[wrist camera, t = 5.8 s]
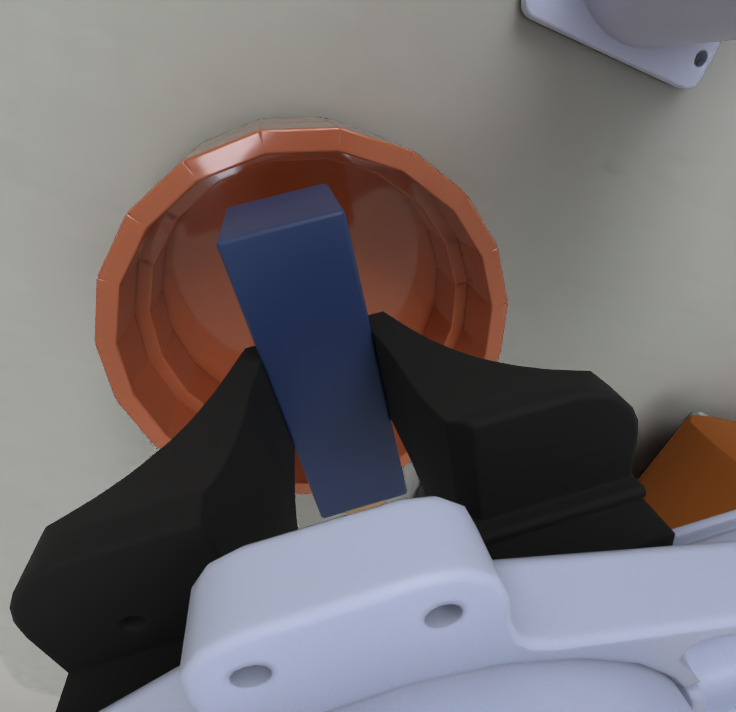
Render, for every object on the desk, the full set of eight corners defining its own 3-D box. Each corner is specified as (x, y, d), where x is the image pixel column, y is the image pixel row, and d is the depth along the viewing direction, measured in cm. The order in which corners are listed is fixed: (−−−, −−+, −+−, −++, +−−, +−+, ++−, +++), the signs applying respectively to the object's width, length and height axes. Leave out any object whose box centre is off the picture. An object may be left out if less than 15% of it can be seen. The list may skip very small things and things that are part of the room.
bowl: (150, 59, 14) (103, 48, 10) (504, 176, 19) (575, 204, 14) (126, 397, 20) (89, 479, 16) (399, 431, 24) (427, 503, 20)
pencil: (225, 207, 11) (214, 242, 9) (327, 182, 11) (344, 208, 9) (324, 481, 17) (334, 553, 14) (392, 461, 17) (415, 528, 14)
